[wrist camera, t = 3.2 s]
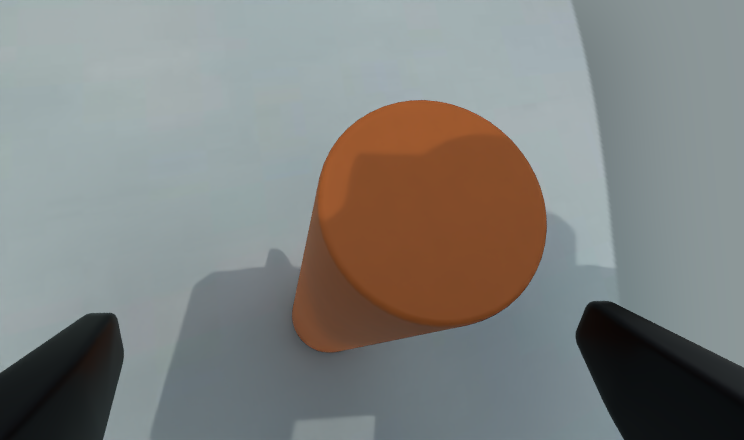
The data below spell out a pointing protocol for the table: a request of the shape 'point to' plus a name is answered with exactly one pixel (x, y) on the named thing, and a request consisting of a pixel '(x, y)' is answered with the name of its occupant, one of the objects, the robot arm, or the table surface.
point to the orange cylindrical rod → (417, 228)
